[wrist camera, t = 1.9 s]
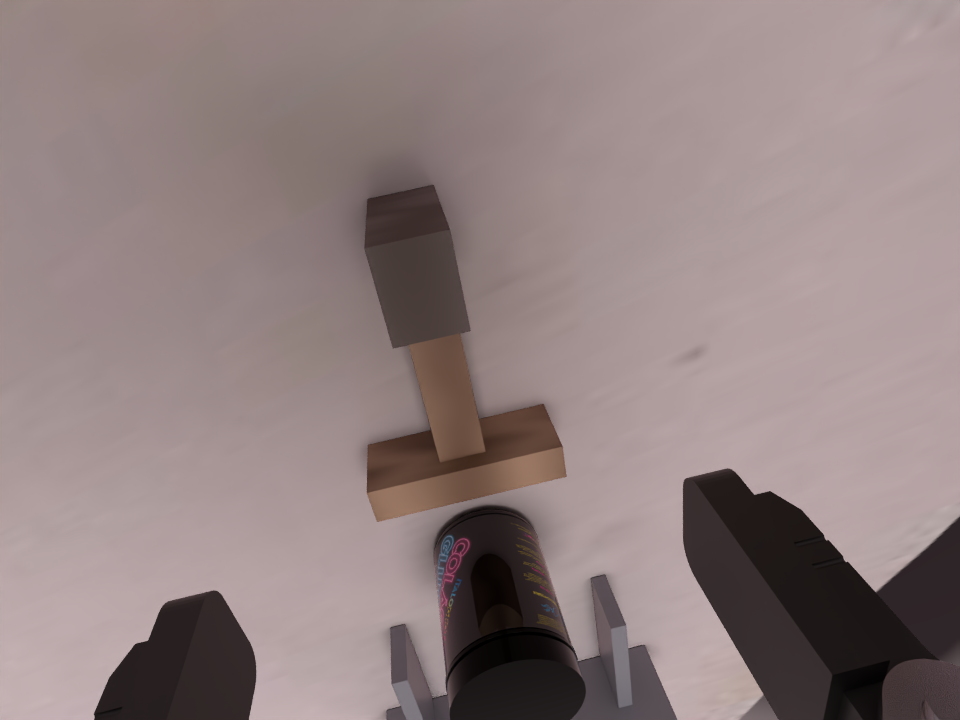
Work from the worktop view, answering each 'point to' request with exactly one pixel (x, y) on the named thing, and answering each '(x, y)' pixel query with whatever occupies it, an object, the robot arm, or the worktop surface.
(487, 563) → the supplement container
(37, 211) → the worktop surface
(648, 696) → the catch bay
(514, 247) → the worktop surface
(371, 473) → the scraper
